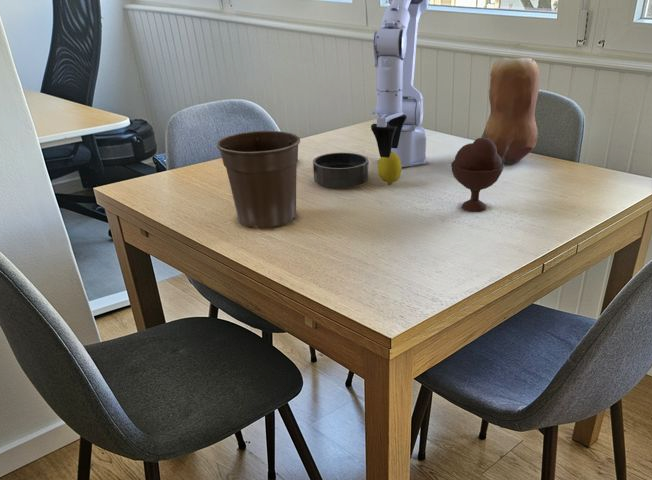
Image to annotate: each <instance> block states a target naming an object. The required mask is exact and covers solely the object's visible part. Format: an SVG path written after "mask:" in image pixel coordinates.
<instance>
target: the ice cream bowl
mask: <svg viewBox="0 0 652 480" xmlns="http://www.w3.org/2000/svg"><path fill="white" fill-rule="evenodd" d="M504 167H505V162H503V161H502V160H501V157H500V156H499V155H498V154H497V148H496V145H495V144H494V142H493V141H492V140H491V139H488V138H484V137H478V138H476V139H475V140H474V141H473V142H472V143H467V144H465V145H463V146H462V147H460V148H459V150H458V151H457V153H456V154H455V156H454V160H453V161H452V162H451V163H450V168H451V173H452V175H453V177H454V179H455V180H456V181H457V182H458V183H459V184H460V185H462V187H464V188H466V189H467V190H469V191H470V199H468V200H466V201H464V202H463V203H462V204H461V209H462V210H463V211H465V212H471V213H481V212H484V211H487V209H488V207H487V204H486V203H484V202H483V201H481V199H480V192H481V191H482V190H485V189H488V188H489V187H491V186H493V185H494V184H495V183H496V182H497V181H498V180H499V179H500V176H501V174H502V173H503V172H504V171H503V170H504Z"/></svg>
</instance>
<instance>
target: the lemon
mask: <svg viewBox="0 0 652 480" xmlns="http://www.w3.org/2000/svg"><path fill="white" fill-rule="evenodd" d="M377 164H378V165H377V172H378V176H379V178H380V179H381V180H382V181H383V182H384V183H386V184H387V185H389V186H390V185H393V183H395V182H397V181H398V180H399V179H400V176H401V175H402V170H403V169H402V168H403V167H402V166H401V161H400V158H399V156H398V155H397V154H395V153H393V152H392V151H391V154H390V157H389V158H387V157H380V158H379V160H378V163H377Z"/></svg>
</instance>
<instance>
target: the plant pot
mask: <svg viewBox="0 0 652 480" xmlns="http://www.w3.org/2000/svg"><path fill="white" fill-rule="evenodd" d="M300 143H301V137H300V136H298V134H297V135H296V134H295V133H292V132H287V131H281V130H280V131H278V130H253V131H245V132H239V133H235V134H231V135H228V136H225V137H222V138H220V139H219V140H218V141H217V142H216V148H217V149H218V150H219V152H220V155H221V156H220V157H221V159H222V163H223V166H224V167H225V169H226V173H227V178H228V181H229V187H230V189H231V190H230V191H231V195H232V198H233V203H234V207H235V211H236V216H237V221H238V222H239V224H241V226H244V227H247V228H253V227H255V228H258V229H275V228H276V229H277V228H280V227H283V226H286V225H288V224H290V223H292V222H293V220H295V219H296V218H297V162H298V159H299V145H300Z"/></svg>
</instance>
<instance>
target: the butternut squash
mask: <svg viewBox="0 0 652 480" xmlns="http://www.w3.org/2000/svg"><path fill="white" fill-rule="evenodd" d="M489 76H490V77H489V78H490V79H489V91H488V99H489V105H490V106H489V107H490V113H489V114H490V115H489V117H488V119H487V121H486V124H485V126H484V130H483V138H488V139H491V140H492V141H493V142H494V144H495V145H496V148H497V154H498V155H499V156H500V157H501V160H502V162H503V163H506V164H507V163H508V164H515V163H518V162H520V161H522V160H523V159H524V158H525V157H526V156H527V155H529V154H530V153H531V152H532V151H534V149H535V147H536V145H537V142H538V126H537V122H536V117H535V116H536V115H535V112H536V107H537V101H538V96H539V89H540V82H539V81H540V73H539V66H538V64H537V62H536V61H535V60H534V59H532V58H530V57H515V58H509V57H502V58H498V59H496V60H495V61H494V62H493V63H492V66H491V70H490V73H489Z"/></svg>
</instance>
